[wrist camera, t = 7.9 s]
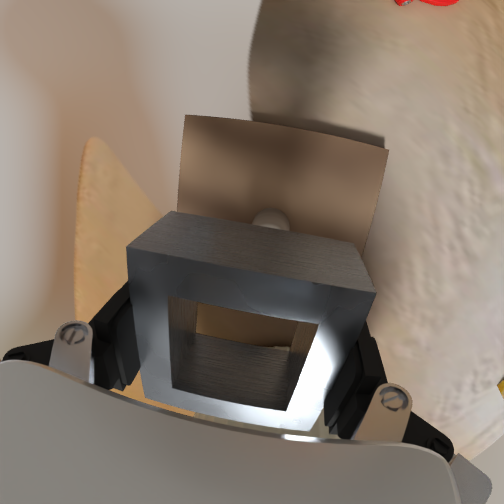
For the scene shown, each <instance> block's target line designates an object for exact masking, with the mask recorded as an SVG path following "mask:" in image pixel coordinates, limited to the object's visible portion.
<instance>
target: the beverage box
mask: <svg viewBox="0 0 504 504" xmlns="http://www.w3.org/2000/svg"><path fill="white" fill-rule="evenodd" d="M497 386H498V388H499V390H500V392H501V395H502V397H503V399H504V380H502V381H501V382H500V383H499V384H498V385H497Z"/></svg>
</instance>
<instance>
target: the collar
mask: <svg viewBox="0 0 504 504" xmlns="http://www.w3.org/2000/svg"><path fill="white" fill-rule="evenodd" d="M126 251H127V268H128V282H129V293H130V303H131V304H132V305H133V315H134V323H135V331H136V339H137V346H138V353H139V359H140V365H141V368H140V374H141V379H142V385H143V390H144V395H145V398H148V399H151V400H155V401H158V402H161V403H164V404H168V405H171V406H175V407H178V408H182V409H186V410H190V411H193V412H197V413H202V414H206V415H210V416H214V417H219V418H224V419H229V420H234V421H239V422H244V423H250V424H256V425H262V426H269V427H276V428H284V429H292V430H302V431H310V430H311V428H312V426H313V425H314V423H315V421H316V420H317V418H318V416H319V414H320V413H321V411H322V409H323V407H324V402H325V400H326V398H327V397H328V395H329V393H330V391H331V389H332V387H333V385H334V383H335V381H336V379H337V377H338V375H339V373H340V371H341V369H342V367H343V365H344V363H345V361H346V359H347V356H348V354H349V352H350V350H351V348H352V347H353V348H354V346H355V343H356V341H357V339H358V337H359V334H360V332H361V330H362V328H363V325H364V323H365V321H366V318H367V316H368V313H369V311H370V308H371V306H372V303H373V301H374V298H375V296H376V290H375V288H374V286H373V283H372V281H371V279H370V277H369V274H368V272H367V270H366V268H365V266H364V264H363V261H362V259H361V257H360V255H359V253H358V251H357V249H356V247H355V245H354V243H349V242H344V241H339V240H334V239H329V238H324V237H319V236H314V235H308V234H303V233H298V232H292V231H287V230H281V229H276V228H270V227H265V226H259V225H253V224H248V223H242V222H236V221H230V220H224V219H218V218H212V217H206V216H200V215H194V214H188V213H181V212H175V211H170V212H169V213H168V214H167V215H165V216H164V217H163V218H161V219H160V220H159V221H157V222H156V223H155V224H154V225H152V226H151V227H150V228H148V229H147V230H146V231H145V232H143V233H142V234H141V235H140V236H139V237H137V238H136V239H135V240H134V241H132V242H131V243H130V244H129V245H128V246H126ZM197 302H201V303H205V304H210V305H215V306H220V307H225V308H230V309H235V310H240V311H245V312H250V313H255V314H261V315H266V316H272V317H278V318H283V319H289V320H295V321H298V324H297V328H296V331H295V334H294V338H293V341H292V344H291V348H290V351H285V350H279V349H273V348H267V347H261V346H256V345H251V344H245V343H240V342H235V341H230V340H225V339H220V338H216V337H211V336H207V335H202V334H198V333H196V323H197Z"/></svg>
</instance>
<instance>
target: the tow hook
mask: <svg viewBox="0 0 504 504" xmlns="http://www.w3.org/2000/svg"><path fill="white" fill-rule="evenodd" d="M395 1H396V3H397V4H398V5H399V6H403V5H407V4H409V3H411V2H412V1H413V0H395ZM420 1H422V2H425V3H428V4H432V5H435V6H448V5H452V4H454V3H456V2H457V1H459V0H420Z"/></svg>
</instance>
